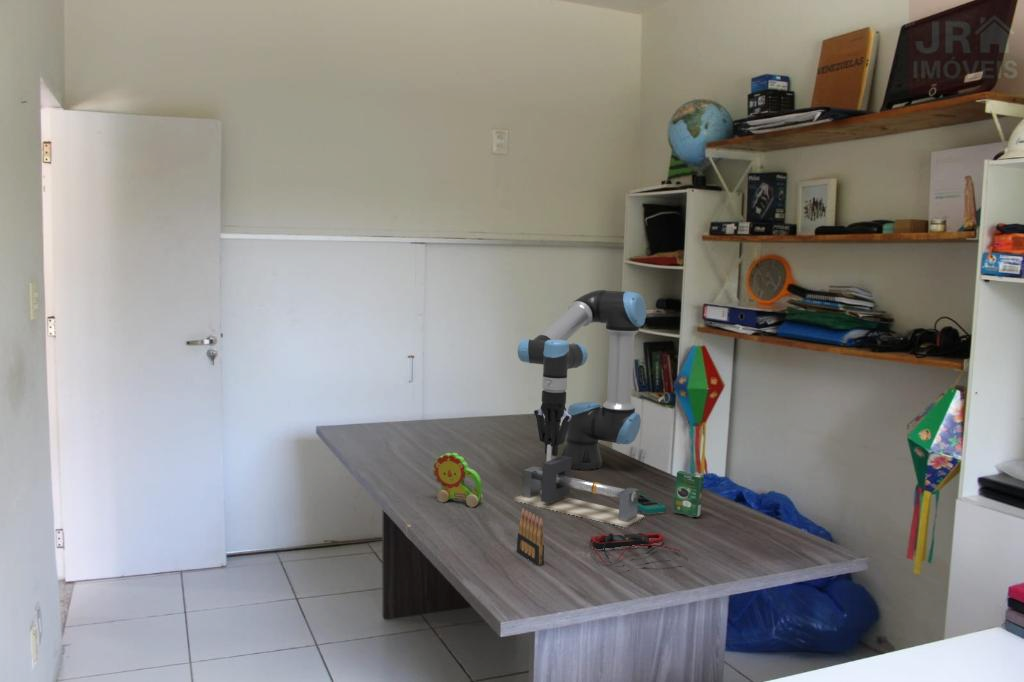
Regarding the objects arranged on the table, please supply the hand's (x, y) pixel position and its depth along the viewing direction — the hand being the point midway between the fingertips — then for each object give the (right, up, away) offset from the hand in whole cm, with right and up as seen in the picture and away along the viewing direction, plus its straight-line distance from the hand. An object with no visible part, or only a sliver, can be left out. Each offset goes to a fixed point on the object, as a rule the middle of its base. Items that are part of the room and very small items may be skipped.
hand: (550, 465), depth 263 cm
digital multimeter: (+29, -14, +1) cm, 32 cm away
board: (+8, -13, -4) cm, 16 cm away
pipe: (+8, -13, -4) cm, 16 cm away
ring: (+2, -10, 0) cm, 10 cm away
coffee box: (+41, -15, -5) cm, 44 cm away
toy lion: (-29, -11, -2) cm, 31 cm away
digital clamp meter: (+20, -18, -41) cm, 49 cm away
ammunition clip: (-7, -17, -46) cm, 49 cm away
